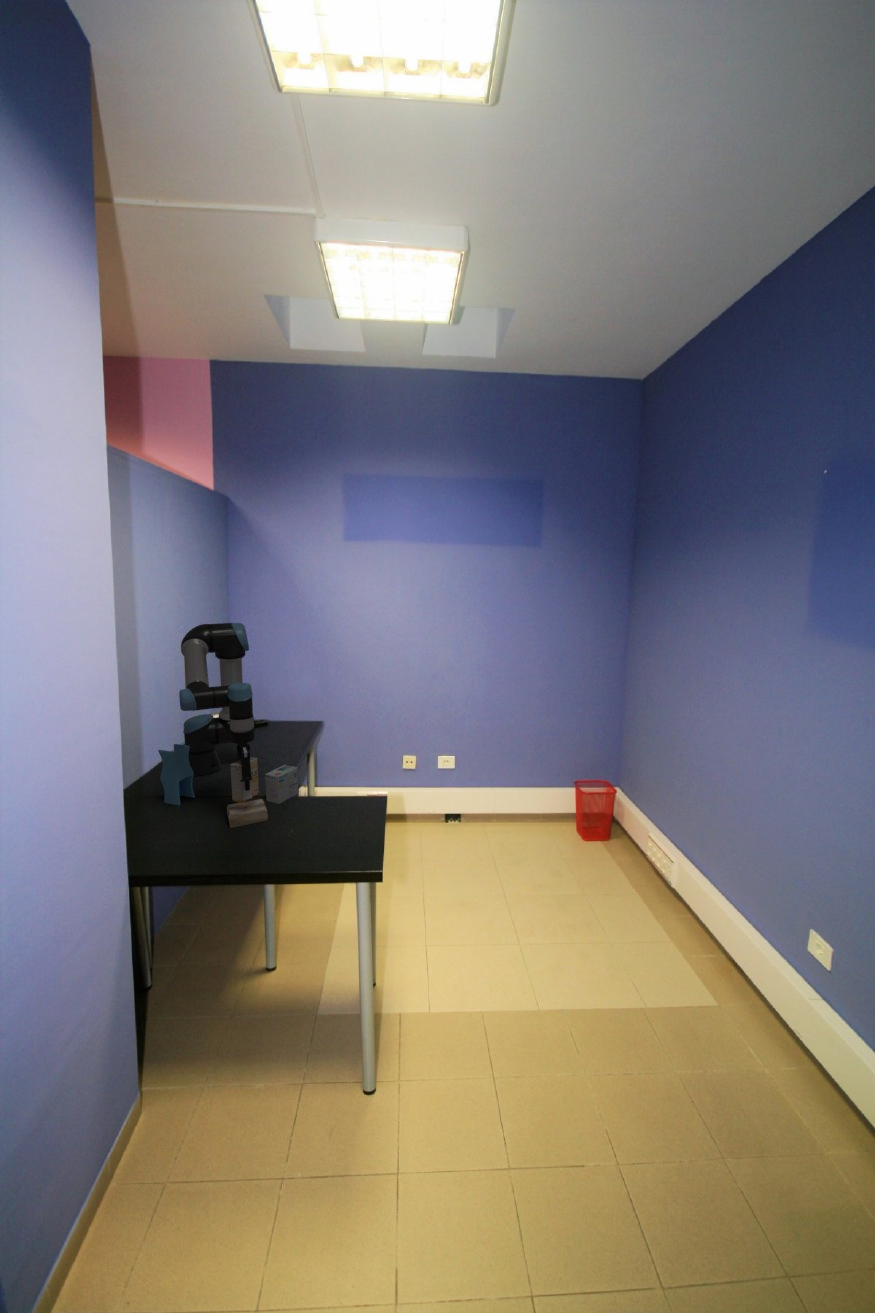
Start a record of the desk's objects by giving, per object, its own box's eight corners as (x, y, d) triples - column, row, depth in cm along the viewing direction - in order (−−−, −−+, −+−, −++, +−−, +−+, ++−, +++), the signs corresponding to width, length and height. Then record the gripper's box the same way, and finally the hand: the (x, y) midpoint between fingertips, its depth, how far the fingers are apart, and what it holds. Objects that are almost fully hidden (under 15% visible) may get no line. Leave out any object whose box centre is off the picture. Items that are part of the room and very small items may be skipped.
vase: (179, 794, 199) (175, 743, 196) (195, 797, 196) (191, 746, 193) (162, 802, 192) (157, 750, 188) (178, 805, 189) (174, 752, 186)
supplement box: (243, 803, 173) (241, 765, 171) (231, 801, 175) (229, 764, 173) (259, 793, 181) (257, 757, 179) (248, 791, 183) (246, 756, 181)
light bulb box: (285, 790, 202) (284, 764, 201) (299, 793, 199) (298, 766, 198) (265, 801, 193) (264, 773, 191) (279, 804, 190) (278, 776, 188)
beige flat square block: (227, 815, 181) (226, 804, 180) (263, 808, 186) (262, 798, 186) (230, 827, 172) (229, 816, 172) (267, 820, 178) (267, 809, 177)
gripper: (227, 723, 182) (231, 784, 186) (233, 740, 163) (237, 808, 167) (249, 720, 186) (253, 780, 189) (258, 736, 167) (262, 803, 170)
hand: (246, 793), depth 178 cm, fingers closed on supplement box, 9 cm apart
